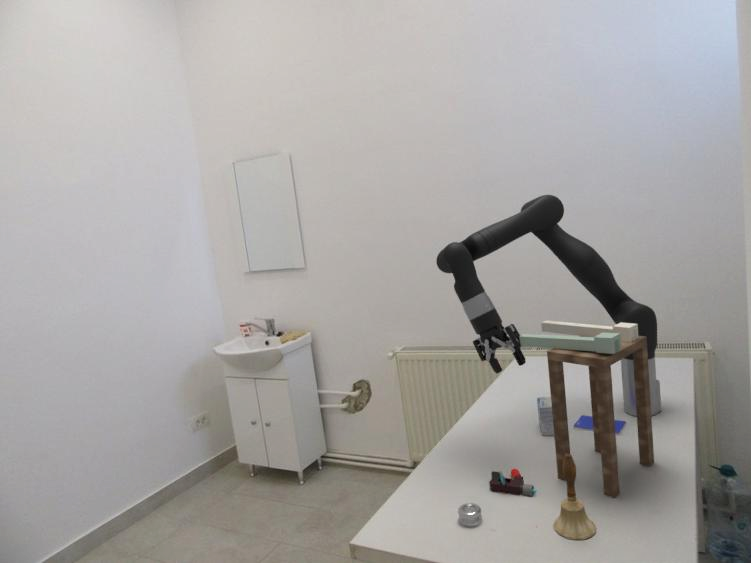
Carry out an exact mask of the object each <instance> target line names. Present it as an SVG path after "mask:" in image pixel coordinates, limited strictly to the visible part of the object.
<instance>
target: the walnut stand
mask: <svg viewBox="0 0 751 563" xmlns="http://www.w3.org/2000/svg"><path fill="white" fill-rule="evenodd" d="M578 337H586V336H578ZM621 343H622V349H621V350H619V351H618V352H616V353H614V354H609V353H596V351H583V350H569V349H555V348H550V349H549V350H547V351H546V355H547V367H548V368H547V369H548V377H549V389H550V397H551V403H552V415H553V426H554V435H553V436H554V446H555V457H556V458H555V459H556V469H557V470H556V472H557V479H559V480H562V481H565V482H566V480H565V478H564V474H563V461H564V458H565V454H571V446H570V431H569V419H568V412H567V411H568V410H567V409H568V408H567V397H566V396H567V395H566V386H565V373H564V363H567V364H573V365H579V366H580V365H581V366H586V367H588V375H589V377H588V379H589V388H590V389H589V390H590V391H589V392H590V403H591V415H592V418H593V431H592V432H593V441H594V444H593V445H594V452H597V453H600V455H601V456H600V457H601V469H602V472H601V474H602V483H603V495H604V496H607V497H610V498H612V499H616V497H618V496H619V495H620V494H621V493H620V481H619V480H620V478H619V476H620V475H619V464H618V463H619V462H618V452H617V451H618V450H617V448H618V446H617V437H616V436H617V435H616V433H615V420H616V419H615V408H614V407H615V406H614V395H613V394H614V393H613V379H612V365H614V364H616V363H618V362H619V361H621V359H623V358H625V357H626V356H628V355H630V354H632V353H633V366H634V381H635V397H636V412H637V416H636V425H637V426H636V427H637V440H638V443H637V444H638V458H639V465H642V466H645V467H646V466H647V467H651V466H653V464H654V463H655V454H654V451H655V450H654V439H653V438H654V434H653V423H652V422H653V420H652V416H651V401H650V384H649V368H648V352H647V337H646V336H638V339H636V340H634V341H632V342H631V343H630V342H622V341H621Z"/></svg>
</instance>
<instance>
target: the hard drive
mask: <svg viewBox="0 0 751 563" xmlns="http://www.w3.org/2000/svg"><path fill="white" fill-rule="evenodd" d="M626 425H627V421H626V420H619V419H615V433H616V436H620V435H621V433H622V432H623V430H624V429H625V427H626ZM624 426H625V427H624ZM573 429H575V430H581V431H587V432H594V431H593V418H592V416H590V415H584V414H582V415H580V416H579V418H578V419H577V420H576V422H575V423H574V424H573Z"/></svg>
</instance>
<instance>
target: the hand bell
mask: <svg viewBox="0 0 751 563" xmlns="http://www.w3.org/2000/svg"><path fill="white" fill-rule="evenodd" d="M563 474H564V478H565V480H566V481H565V482H566V496H567V497H566V498H564V499H563V500H562V501H561V502H560V514H559V516H558V517H557V518H555V520H554V522H553V526H552V527H553V529H554V531H555V532H556V533H557V534H558V535H559V536H561V537H563V538H566V539H570V540H574V541H576V540H579V541H582V540H587V539H590V538H591V537H593V536H594V535H595V534H596V532H597V526H596V525H595V523H594V521H592V520H591V519H590V518H589V517H588V514H587V513H586V508H585V505H584V503H583V501H582V500H580V499H578V498H577V494H576V493H577V492H576V485H575V484H576V483H575V482H576V479H577V466H576V462H575V460H574V458H573V455H572V453H570V454H565V458H564V461H563Z"/></svg>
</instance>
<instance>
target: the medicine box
mask: <svg viewBox="0 0 751 563" xmlns="http://www.w3.org/2000/svg"><path fill="white" fill-rule="evenodd" d="M536 405H537V413H538V421H539V422H538V423H539V424H538V425H539V428H540V430H541V435H542V436H554V426H553V415H552V403H551V396H541V397H536Z"/></svg>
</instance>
